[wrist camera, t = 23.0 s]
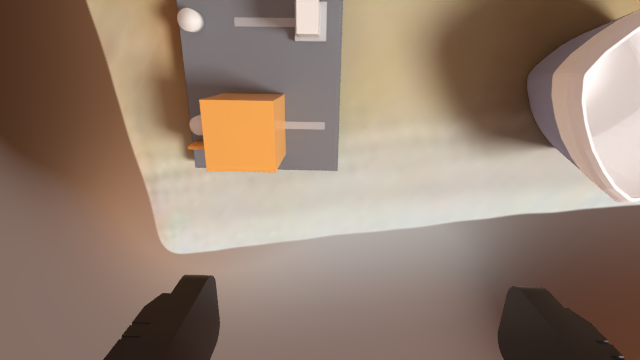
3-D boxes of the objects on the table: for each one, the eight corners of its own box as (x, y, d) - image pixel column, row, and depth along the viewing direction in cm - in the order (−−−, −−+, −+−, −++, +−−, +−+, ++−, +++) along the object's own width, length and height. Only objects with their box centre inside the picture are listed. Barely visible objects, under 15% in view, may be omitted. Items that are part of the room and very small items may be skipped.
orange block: (284, 94, 35) (273, 100, 29) (285, 153, 37) (275, 172, 31) (223, 93, 35) (199, 99, 29) (228, 152, 37) (206, 170, 31)
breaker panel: (343, -32, 33) (344, -44, 29) (337, 165, 39) (337, 176, 36) (181, -32, 33) (161, -45, 29) (201, 162, 40) (188, 173, 36)
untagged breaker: (326, 3, 32) (325, -8, 27) (326, 41, 33) (325, 38, 28) (295, 2, 32) (288, -9, 27) (295, 41, 33) (289, 37, 28)
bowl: (679, 113, 36) (821, 134, 26) (539, 183, 39) (615, 227, 29) (639, -25, 32) (788, -67, 22) (486, 65, 35) (552, 66, 25)
